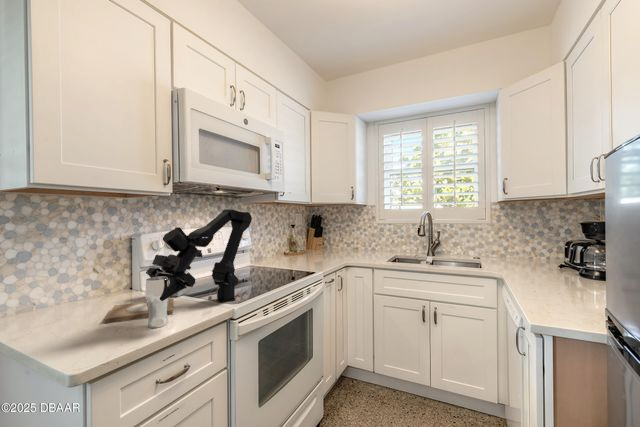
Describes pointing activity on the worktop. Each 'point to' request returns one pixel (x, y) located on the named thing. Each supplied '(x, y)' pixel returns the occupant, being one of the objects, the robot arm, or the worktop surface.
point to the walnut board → (132, 311)
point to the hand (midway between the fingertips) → (153, 299)
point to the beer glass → (156, 301)
